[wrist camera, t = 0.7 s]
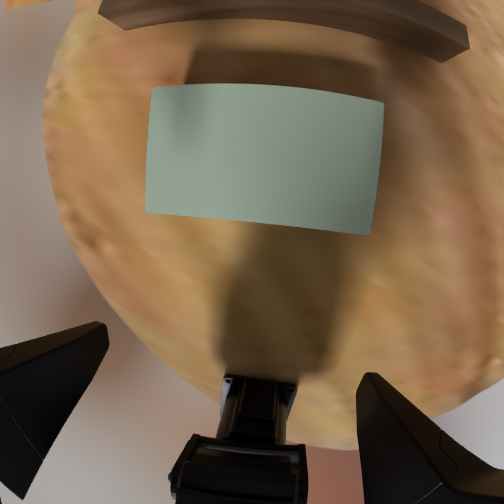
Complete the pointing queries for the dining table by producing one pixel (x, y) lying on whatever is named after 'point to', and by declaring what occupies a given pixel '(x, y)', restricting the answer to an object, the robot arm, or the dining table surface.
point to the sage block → (264, 155)
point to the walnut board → (312, 18)
